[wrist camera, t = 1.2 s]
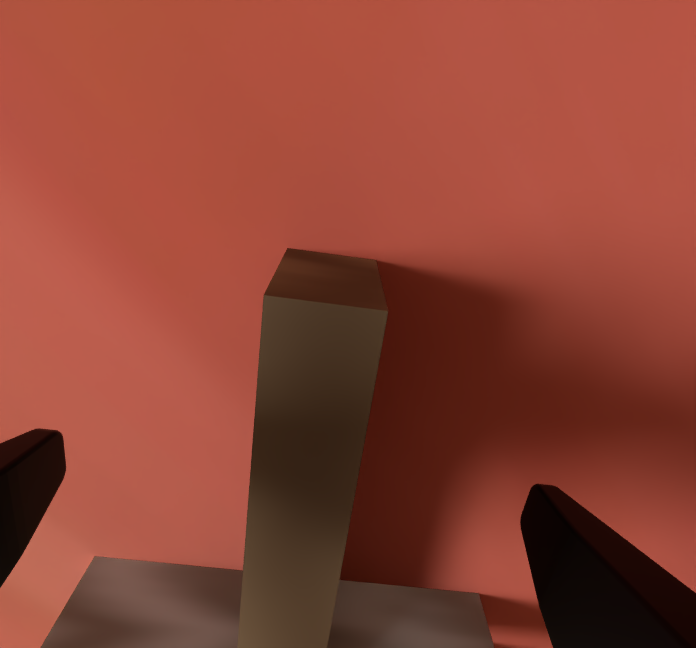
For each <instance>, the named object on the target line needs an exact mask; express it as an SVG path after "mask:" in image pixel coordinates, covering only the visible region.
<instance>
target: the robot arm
mask: <svg viewBox="0 0 696 648" xmlns="http://www.w3.org/2000/svg"><path fill="white" fill-rule="evenodd" d="M65 472H66V460H65V451H64V441H63V436H62V434H61V432H59V431H57V430H49V429H34V430H31V431H29V432H26V433H24V434H22V435H19V436H17V437H15V438H12V439H10V440H7V441H5V442H3V443H0V587H1V586H2V584H3V583H4V582H5V580H6V579H7V577H8V576H9V574H10V573H11V571H12V570H13V568H14V567H15V565H16V564H17V562H18V560H19V559H20V557H21V556H22V554H23V552H24V550H25V549H26V547H27V545H28V544H29V542H30V540H31V538H32V536H33V534H34V532H35V531H36V529H37V527H38V525H39V523H40V521H41V520H42V518H43V516H44V514H45V512H46V510H47V508H48V507H49V505H50V503H51V501H52V499H53V497H54V496H55V494H56V492H57V490H58V488H59V486H60V484H61V483H62V481H63V478H64V476H65ZM520 524H521V531H522V535H523V540H524V544H525V548H526V552H527V557H528V561H529V565H530V570H531V574H532V578H533V582H534V587H535V591H536V595H537V599H538V603H539V606H540V610H541V613H542V616H543V619H544V622H545V625H546V628H547V631H548V634H549V637H550V640H551V643H552V645H553V648H696V593H695V592H694V591H692V590H691V589H690V588H688V587H687V586H686V585H684V584H683V583H682V582H680V581H679V580H678V579H677V578H675V577H674V576H673V575H671V574H670V573H669V572H667V571H666V570H665V569H664V568H662V567H661V566H660V565H658V564H657V563H656V562H654V561H653V560H652V559H650V558H649V557H648V556H647V555H645V554H644V553H643V552H641V551H640V550H639V549H637V548H636V547H635V546H633V545H632V544H631V543H630V542H628V541H627V540H626V539H624V538H623V537H622V536H620V535H619V534H618V533H616V532H615V531H614V530H613V529H611V528H610V527H609V526H607V525H606V524H605V523H603V522H602V521H601V520H599V519H598V518H597V517H596V516H594V515H593V514H592V513H590V512H589V511H588V510H586V509H585V508H584V507H582V506H581V505H580V504H579V503H577V502H576V501H575V500H573V499H572V498H571V497H569V496H568V495H567V494H566V493H564V492H563V491H562V490H560V489H559V488H558V487H556V486H553V485H544V484H535V485H533V486H532V487H531V489H530V492H529V495H528V498H527V500H526V503H525V506H524V509H523V511H522V514H521V520H520Z"/></svg>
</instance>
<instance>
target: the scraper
mask: <svg viewBox="0 0 696 648" xmlns="http://www.w3.org/2000/svg"><path fill="white" fill-rule="evenodd" d="M387 315H388V308H387V304H386V299H385V295H384V291H383V287H382V282H381V278H380V274H379V270H378V266H377V261H376V260H371V259H364V258H357V257H349V256H342V255H334V254H327V253H320V252H312V251H305V250H297V249H290V248H287V250H286V252H285V254H284V256H283V258H282V260H281V262H280V264H279V266H278V268H277V270H276V272H275V274H274V276H273V278H272V280H271V282H270V284H269V286H268V288H267V290H266V292H265V294H264V299H263V312H262V325H261V339H260V352H259V365H258V379H257V392H256V405H255V419H254V432H253V445H252V459H251V472H250V485H249V499H248V512H247V525H246V539H245V552H244V565H243V571H242V570H232V569H221V568H211V567H201V566H190V565H180V564H170V563H159V562H149V561H139V560H128V559H118V558H108V557H97V556H95V557H94V558H93V560H92V562H91V563H90V565H89V567H88V568H87V570H86V572H85V573H84V575H83V577H82V578H81V580H80V582H79V584H78V585H77V587H76V589H75V590H74V592H73V594H72V595H71V597H70V599H69V600H68V602H67V604H66V605H65V607H64V609H63V610H62V612H61V614H60V616H59V617H58V619H57V621H56V622H55V624H54V626H53V627H52V629H51V631H50V632H49V634H48V636H47V637H46V639H45V641H44V642H43V644H42V646H41V648H494V645H493V641H492V638H491V634H490V631H489V627H488V624H487V620H486V617H485V613H484V610H483V606H482V603H481V600H480V596H479V593H469V592H459V591H448V590H438V589H428V588H417V587H407V586H397V585H386V584H376V583H366V582H355V581H345V580H339V579H340V574H341V568H342V563H343V557H344V552H345V546H346V541H347V535H348V530H349V524H350V519H351V513H352V508H353V502H354V497H355V491H356V486H357V480H358V475H359V469H360V464H361V458H362V453H363V447H364V442H365V436H366V431H367V425H368V420H369V414H370V409H371V403H372V398H373V392H374V387H375V381H376V376H377V370H378V365H379V359H380V354H381V348H382V343H383V337H384V332H385V326H386V321H387Z"/></svg>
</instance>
